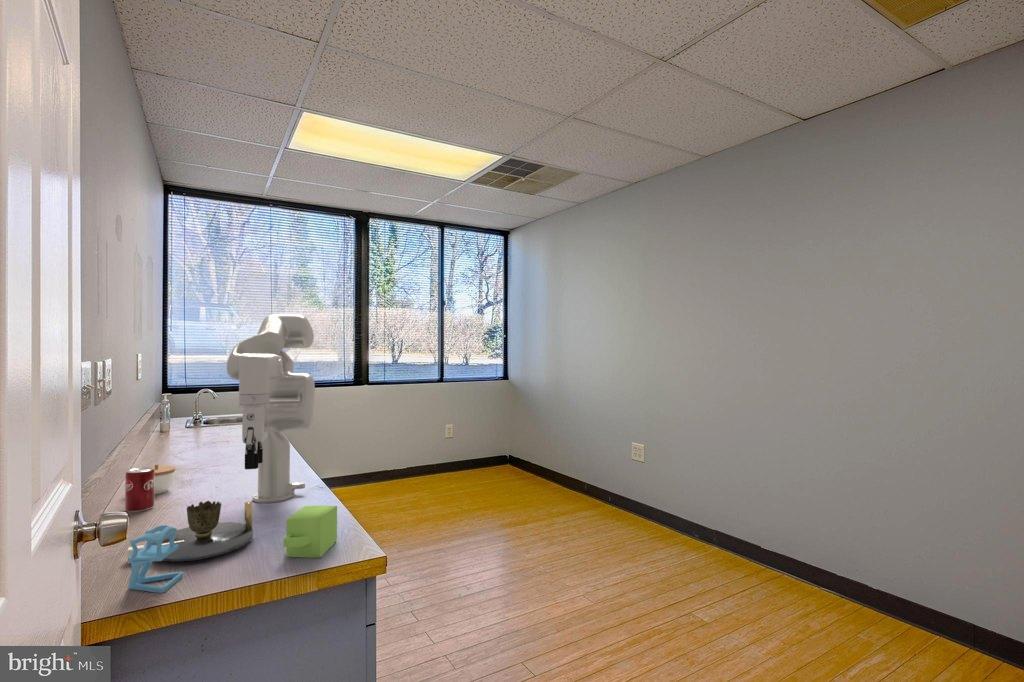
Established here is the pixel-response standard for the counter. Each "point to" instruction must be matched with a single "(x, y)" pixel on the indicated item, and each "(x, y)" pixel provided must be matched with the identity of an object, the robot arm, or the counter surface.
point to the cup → (203, 518)
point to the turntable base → (130, 550)
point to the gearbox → (311, 531)
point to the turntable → (211, 540)
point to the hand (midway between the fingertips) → (253, 465)
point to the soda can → (139, 489)
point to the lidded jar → (163, 478)
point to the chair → (152, 559)
